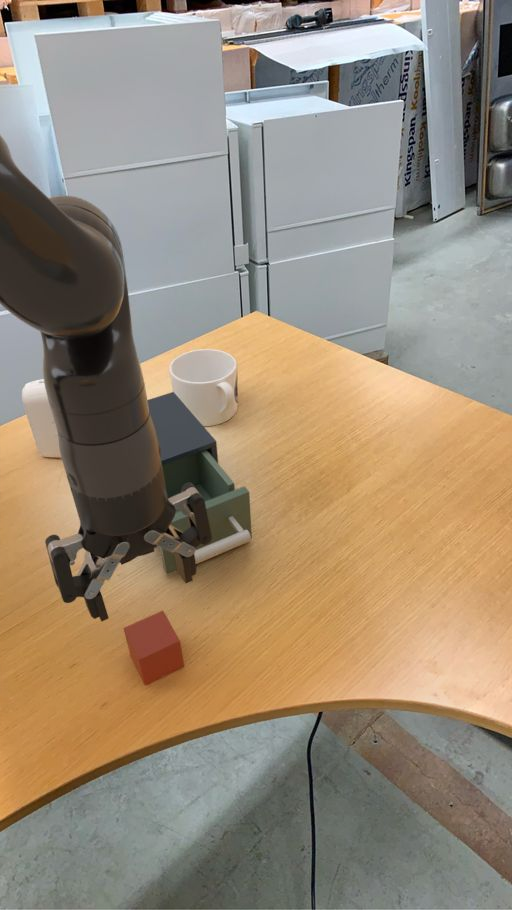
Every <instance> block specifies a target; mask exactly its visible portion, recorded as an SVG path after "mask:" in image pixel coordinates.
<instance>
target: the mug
mask: <svg viewBox="0 0 512 910" xmlns="http://www.w3.org/2000/svg"><path fill="white" fill-rule="evenodd" d="M168 373H169V378H170V384H171V389H172V392H174V393H175V394H176V395H177V396H178V398H179V399H180V400H181V401H182V402H183V403H184V405H185V406H186V407H187V408H188V409H189V410H190V411H191V413H192V414H193V415H194V416H195V417H196V418H197V420H198V421H199V422H200V423H201V424H202V425H203V426H204V427H212V426H218V425H220V424H223V423H225V422H227V421H229V420H230V419H231V418H233V417H234V416H235V415H236V413H237V412H238V407H239V405H238V404H239V402H238V401H239V398H238V397H239V396H238V392H239V391H238V363H237V360H236V358H235V357H233V355H232V354H230V353H228V352H226V351H223V350H220V349H214V348H201V349H194V350H190V351H186V352H184V353H182V354H179V355H178V356H176V357H175V358H174V359H173V360H172V361H170V364H169V367H168Z"/></svg>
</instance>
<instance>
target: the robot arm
mask: <svg viewBox="0 0 512 910" xmlns="http://www.w3.org/2000/svg"><path fill="white" fill-rule="evenodd" d="M119 235H120V234H119V233H118V230H117V229H116V226H115V225H114V224H113V222H112V221H111V219H110V218H109V217H108V215H106V214H105V212H104V211H103V210H101V209H100V208H99V207H97V206H96V205H94V204H93V203H92V202H89V201H88V200H86V199H85V198H81V197H77V196H73V195H65V194H63V195H54V196H50V197H48V196H47V195H46V194H45V193H44V192H43V191H42V190H41V189H40V188H39V187H38V186H36V184H34V183H33V182H32V180H30V178H29V177H27V176H26V175H25V173H23V172H22V170H21V169H20V168H19V166H18V165H17V164H16V163H15V161H14V158H13V157H12V154H11V150H10V148H9V145H8V143H7V142H6V141H5V139H4V137H3V136H2V135H1V134H0V305H1V307H3V308H4V309H5V310H7V311H8V312H9V313H10V314H11V315H13V316H14V317H16V319H18V320H20V322H22V323H24V324H26V325H28V326H29V327H31V328H33V329H35V330H36V331H38V332H40V336H41V340H42V349H43V358H42V359H43V360H42V376H43V379H44V384H45V389H46V393H47V397H48V401H49V405H50V408H51V411H52V415H53V418H54V422H55V425H56V429H57V432H58V439H59V448H60V453H61V458H60V459H61V461H62V464H63V468H64V471H65V475H66V478H67V481H68V485H69V489H70V491H71V495H72V499H73V503H74V505H75V509H76V512H77V516H78V519H79V528H78V531H77V533H76V534H73V535H70V536H67V537H64V538H60V536H59V535H57V534H51V535H49V536H48V537H46V538H45V541H44V543H45V547H46V551H47V555H48V560H49V563H50V566H51V570H52V575H53V579H54V582H55V585H56V587H57V588H58V590H59V593H60V596H61V599H62V602H63V603H65V604H70V603H71V604H72V603H73V602H74V601H76V599H77V598H83V600H84V603H85V606H86V608H87V610H88V613H89V615H90V617H91V618H92V619H94V620H96V619H98V618H99V620H100V622H101V623H102V622H104V621H106V620H107V621H108V620H109V619H110V618H109V615H108V611H107V607H106V604H105V601H104V597H103V595H102V592H101V589H102V587H103V586H104V583H105V582H106V581H110V580H111V578H112V576H113V574H114V572H115V571H116V569H117V568H118V565H119V564H121V566H122V565H124V564H127V563H129V562H131V561H133V560H135V559H136V558H138V557H141V556H147V555H148V554H151V553H154V552H155V548H158V547H157V546H159V547H161V548H164V549H166V550H168V551H170V552H172V553H174V554H175V560H176V565H177V572H178V574H179V576H180V578H181V580H182V581H183V582H184V584H186V585H187V584H189V583H191V582H193V576H194V575H196V574H197V571H198V569H197V564H196V562H195V555H194V553H195V549H196V547H197V546H199V545H200V544H203V545H206V544H208V543H209V542H210V541H211V540H212V534H211V529H210V525H209V520H208V515H207V510H206V505H205V500H204V499H203V497H202V496H201V495H200V493H199V492H198V491H197V489H196V488H195V487H194V485H193V484H192V483H190V482H188V483H185V484H184V485H183V486H182V488H181V492H182V493H180V494H177V495H175V496H173V497H171V498H168V496H167V490H166V485H165V479H164V473H163V467H162V461H161V448H160V444H159V442H158V438H157V434H156V430H155V427H154V424H153V421H152V418H151V415H150V411H149V406H148V400H149V399H148V394H147V391H146V390H147V389H146V383H145V378H144V374H143V369H142V367H141V362H140V359H139V356H138V352H137V348H136V343H135V340H134V334H133V326H132V325H133V324H132V315H131V305H130V295H129V287H128V280H127V272H126V265H125V255H124V250H123V246H122V241H121V238H120V236H119ZM177 510H180V511H181V512H182V513H183V514H184V515H187V517H188V522H189V526H190V528H189V529H187V530H186V531H185V532H183V531H181V530H179V529H178V528H176V527H174V526H172V525H171V522H172V520H173V518H174V516H175V511H177ZM81 549H83V550H85V553H84V560H83V561H84V562H83V563H82V565H81V567H80V569H79V570H78V573H77V574H76V575H73V573H72V568H71V566H74V565H76V562H75V560H76V559H77V557H78V555H77V554H78V552H79V551H80V550H81Z"/></svg>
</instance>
